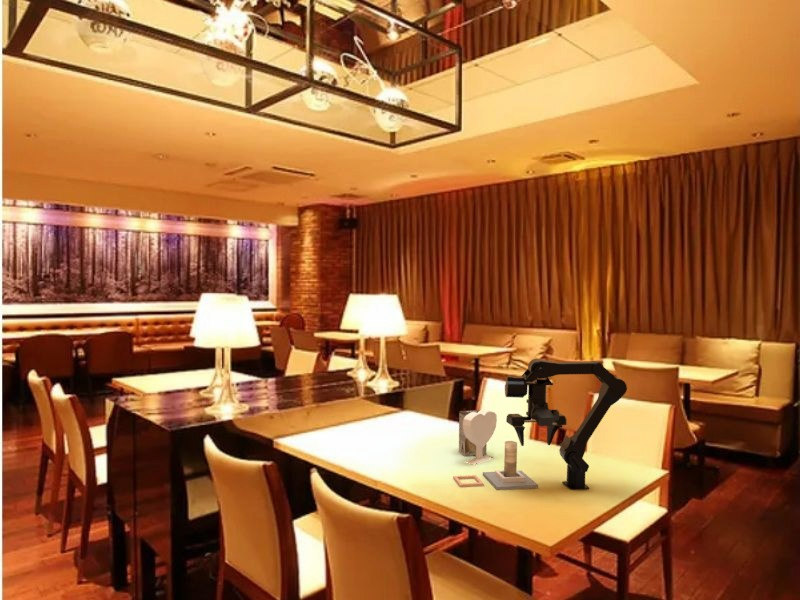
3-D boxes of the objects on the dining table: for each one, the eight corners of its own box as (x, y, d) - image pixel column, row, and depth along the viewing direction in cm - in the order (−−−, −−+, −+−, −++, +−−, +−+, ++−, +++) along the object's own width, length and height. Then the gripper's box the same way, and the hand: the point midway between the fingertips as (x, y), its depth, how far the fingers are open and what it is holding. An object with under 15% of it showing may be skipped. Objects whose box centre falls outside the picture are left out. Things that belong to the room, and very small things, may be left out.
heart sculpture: (486, 454, 220) (488, 407, 219) (497, 457, 216) (498, 410, 216) (460, 462, 209) (461, 413, 209) (471, 466, 206) (472, 416, 205)
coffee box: (479, 450, 225) (480, 409, 225) (486, 455, 219) (487, 413, 218) (457, 451, 223) (459, 410, 222) (464, 456, 217) (465, 414, 216)
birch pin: (518, 480, 189) (519, 444, 189) (506, 480, 188) (507, 444, 188) (513, 476, 193) (514, 440, 193) (502, 476, 192) (503, 441, 192)
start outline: (483, 485, 186) (483, 483, 186) (460, 487, 185) (460, 484, 185) (476, 477, 194) (476, 475, 194) (453, 478, 192) (453, 476, 192)
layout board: (538, 488, 185) (538, 480, 185) (497, 490, 183) (497, 482, 183) (521, 473, 199) (521, 466, 199) (482, 475, 196) (482, 467, 196)
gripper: (519, 403, 178) (518, 453, 178) (575, 402, 181) (573, 451, 182) (506, 396, 188) (505, 443, 189) (559, 395, 192) (557, 442, 192)
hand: (535, 445), depth 188 cm, fingers open, 9 cm apart
